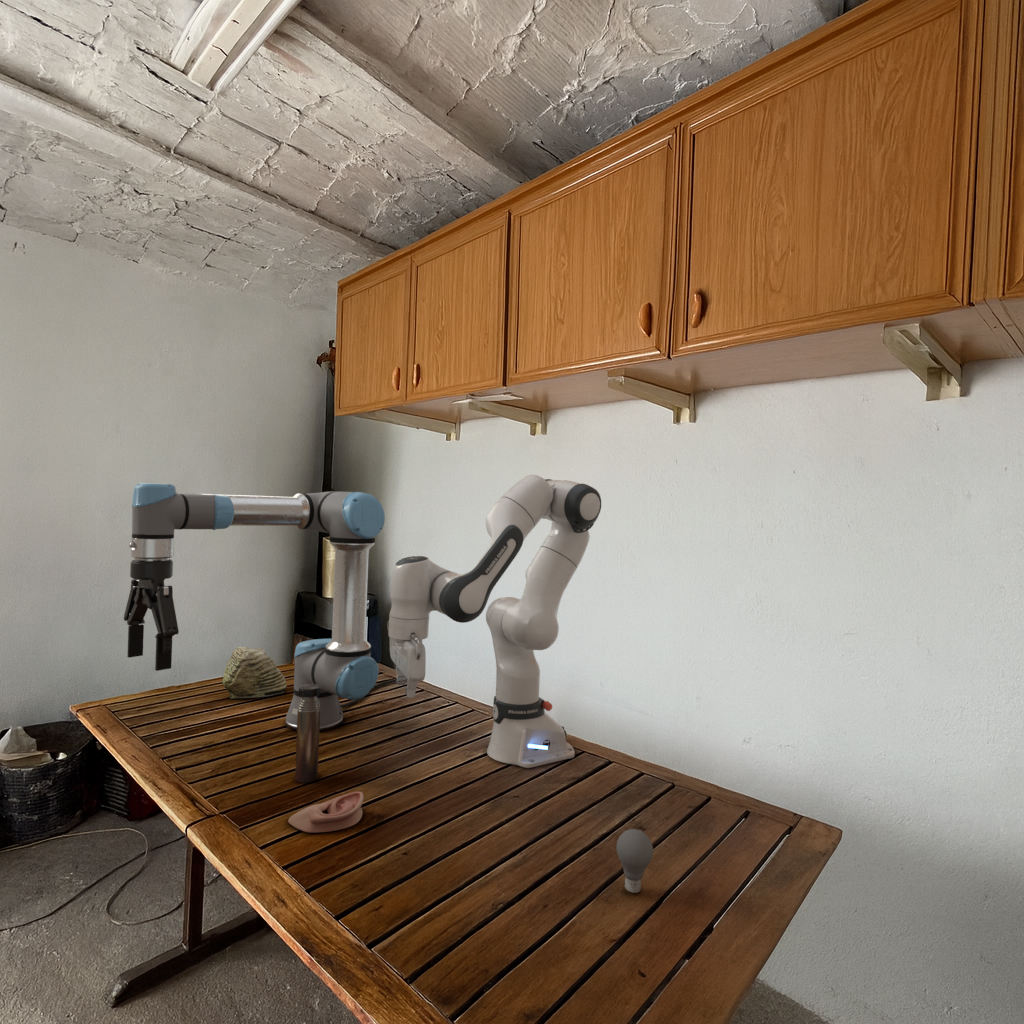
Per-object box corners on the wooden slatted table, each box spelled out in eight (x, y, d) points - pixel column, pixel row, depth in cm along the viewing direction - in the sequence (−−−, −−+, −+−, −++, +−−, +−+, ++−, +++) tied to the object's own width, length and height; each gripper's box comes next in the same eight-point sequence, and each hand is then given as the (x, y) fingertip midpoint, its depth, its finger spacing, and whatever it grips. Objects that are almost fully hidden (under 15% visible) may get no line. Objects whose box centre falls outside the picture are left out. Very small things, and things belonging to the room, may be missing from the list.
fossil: (218, 695, 195) (220, 647, 195) (278, 685, 208) (279, 640, 207) (228, 703, 189) (230, 653, 188) (289, 692, 201) (290, 645, 201)
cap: (296, 692, 143) (296, 684, 143) (317, 690, 145) (317, 682, 145) (301, 698, 139) (301, 690, 139) (322, 696, 141) (323, 688, 141)
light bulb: (610, 879, 108) (613, 822, 108) (644, 879, 109) (647, 822, 109) (619, 902, 102) (622, 840, 102) (655, 901, 103) (658, 840, 103)
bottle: (292, 775, 143) (296, 686, 143) (314, 771, 146) (318, 684, 145) (297, 784, 139) (301, 692, 138) (320, 780, 141) (323, 689, 141)
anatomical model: (280, 807, 120) (311, 781, 131) (279, 828, 120) (310, 800, 131) (344, 817, 117) (370, 790, 129) (343, 838, 118) (370, 809, 129)
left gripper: (108, 554, 134) (104, 654, 134) (159, 565, 118) (155, 678, 119) (146, 552, 140) (143, 648, 140) (199, 563, 124) (195, 671, 124)
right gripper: (434, 638, 133) (431, 703, 133) (412, 620, 152) (409, 677, 152) (404, 639, 131) (401, 706, 131) (386, 620, 150) (383, 678, 150)
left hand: (148, 662), depth 129 cm, fingers open, 13 cm apart
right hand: (405, 690), depth 142 cm, fingers open, 8 cm apart
